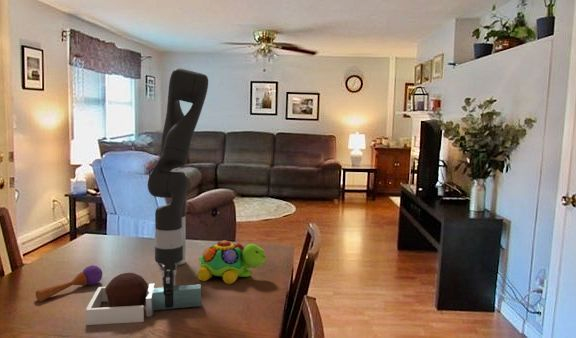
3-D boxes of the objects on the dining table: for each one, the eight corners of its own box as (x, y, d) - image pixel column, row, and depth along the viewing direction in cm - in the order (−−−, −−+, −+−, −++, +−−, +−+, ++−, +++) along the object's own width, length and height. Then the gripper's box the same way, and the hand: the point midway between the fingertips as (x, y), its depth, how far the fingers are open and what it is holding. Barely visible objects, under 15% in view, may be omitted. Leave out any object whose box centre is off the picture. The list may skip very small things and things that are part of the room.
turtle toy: (258, 288, 148) (258, 252, 146) (188, 281, 152) (188, 246, 151) (271, 271, 164) (271, 238, 163) (208, 265, 169) (208, 233, 167)
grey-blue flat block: (201, 295, 138) (200, 279, 137) (201, 311, 127) (200, 293, 127) (150, 300, 135) (149, 283, 135) (146, 316, 125) (145, 298, 124)
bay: (149, 297, 138) (149, 284, 137) (143, 321, 122) (143, 306, 122) (98, 300, 135) (98, 287, 135) (86, 325, 119) (85, 309, 119)
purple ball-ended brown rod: (31, 285, 135) (92, 262, 152) (35, 305, 135) (96, 280, 152) (42, 286, 132) (104, 262, 148) (47, 307, 132) (108, 281, 149)
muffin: (114, 301, 134) (113, 267, 133) (153, 302, 135) (152, 268, 133) (98, 319, 123) (97, 282, 121) (141, 320, 123) (141, 283, 122)
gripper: (182, 250, 123) (182, 313, 125) (183, 236, 137) (183, 293, 139) (152, 251, 121) (153, 315, 123) (156, 237, 135) (157, 295, 137)
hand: (169, 303), depth 131 cm, fingers closed on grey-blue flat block, 3 cm apart
